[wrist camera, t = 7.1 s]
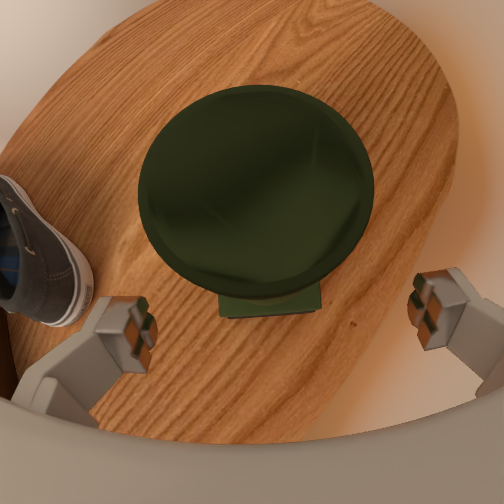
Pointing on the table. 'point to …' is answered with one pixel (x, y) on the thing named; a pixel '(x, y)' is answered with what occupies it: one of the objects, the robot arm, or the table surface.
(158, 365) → the table surface
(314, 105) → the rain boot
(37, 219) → the boat shoe
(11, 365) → the shoe bench
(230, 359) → the table surface
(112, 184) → the table surface
